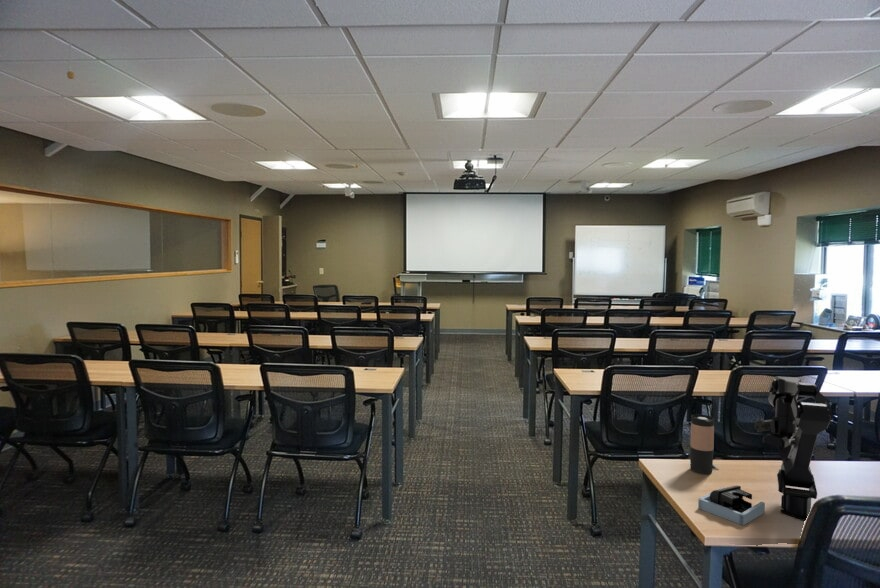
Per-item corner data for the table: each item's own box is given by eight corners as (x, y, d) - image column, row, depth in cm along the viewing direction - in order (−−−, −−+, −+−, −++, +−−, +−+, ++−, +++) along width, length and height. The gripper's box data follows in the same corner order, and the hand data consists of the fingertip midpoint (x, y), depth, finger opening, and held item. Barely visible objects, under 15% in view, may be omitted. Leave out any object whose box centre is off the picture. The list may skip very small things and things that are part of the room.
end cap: (731, 503, 160) (731, 482, 159) (752, 513, 153) (753, 491, 153) (708, 508, 156) (709, 487, 155) (729, 519, 149) (730, 496, 149)
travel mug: (692, 465, 191) (693, 413, 190) (714, 470, 186) (716, 416, 186) (687, 471, 185) (688, 417, 184) (710, 476, 180) (712, 421, 180)
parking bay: (764, 512, 153) (764, 502, 153) (743, 525, 145) (743, 515, 145) (720, 496, 164) (720, 487, 164) (698, 508, 156) (698, 498, 156)
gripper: (770, 405, 177) (769, 449, 177) (746, 413, 166) (744, 460, 167) (808, 412, 168) (806, 458, 168) (784, 421, 157) (783, 471, 157)
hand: (784, 461), depth 165 cm, fingers closed
